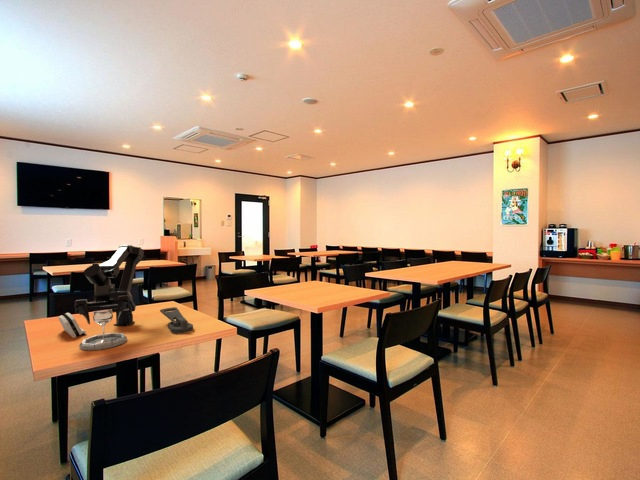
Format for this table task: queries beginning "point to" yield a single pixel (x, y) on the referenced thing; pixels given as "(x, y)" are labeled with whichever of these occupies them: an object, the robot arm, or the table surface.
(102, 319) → the wineglass
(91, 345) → the rosette plate
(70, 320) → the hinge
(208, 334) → the table surface
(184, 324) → the zipper pull
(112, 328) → the table surface
